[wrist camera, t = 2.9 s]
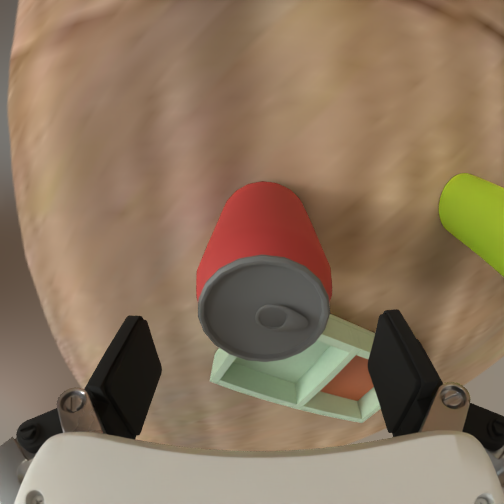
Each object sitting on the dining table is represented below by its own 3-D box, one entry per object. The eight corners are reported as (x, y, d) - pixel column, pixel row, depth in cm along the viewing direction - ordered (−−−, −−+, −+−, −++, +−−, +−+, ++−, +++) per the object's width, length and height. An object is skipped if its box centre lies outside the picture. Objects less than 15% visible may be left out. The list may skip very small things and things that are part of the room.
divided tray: (214, 354, 29) (209, 381, 26) (260, 282, 25) (259, 308, 22) (356, 400, 32) (362, 423, 29) (410, 348, 28) (422, 371, 25)
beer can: (291, 267, 24) (307, 379, 14) (213, 247, 24) (177, 352, 13) (317, 193, 22) (368, 269, 11) (233, 169, 21) (200, 224, 10)
